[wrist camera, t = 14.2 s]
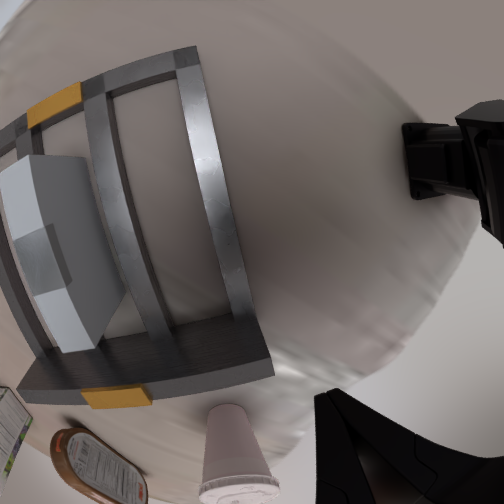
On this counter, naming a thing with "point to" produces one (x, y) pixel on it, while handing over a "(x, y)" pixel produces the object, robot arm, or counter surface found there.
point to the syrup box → (10, 431)
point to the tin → (96, 468)
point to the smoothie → (234, 461)
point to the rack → (139, 261)
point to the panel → (62, 247)
